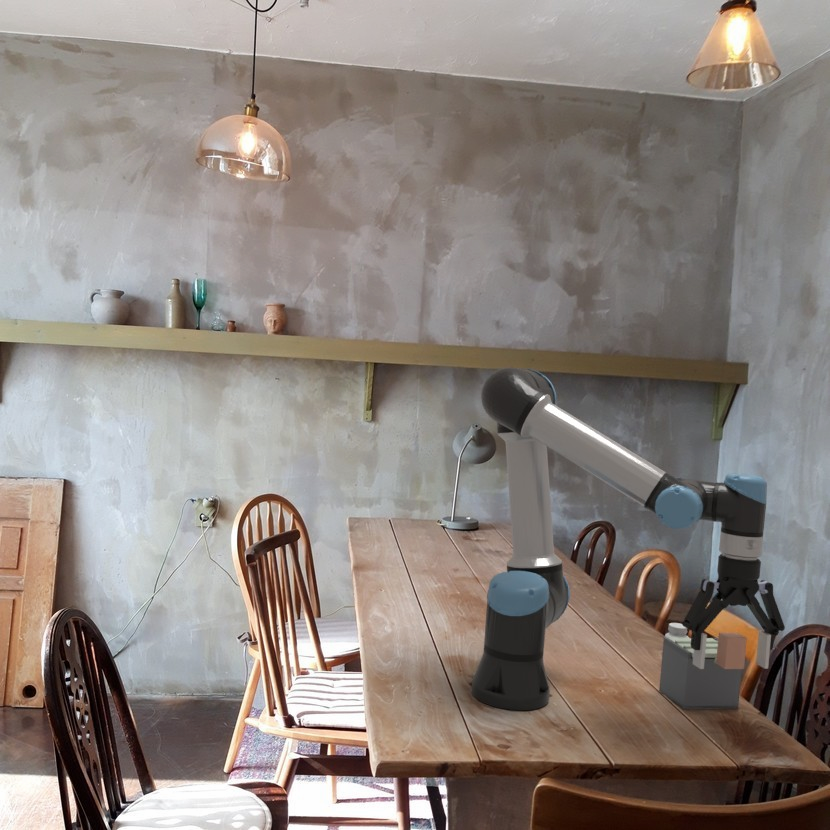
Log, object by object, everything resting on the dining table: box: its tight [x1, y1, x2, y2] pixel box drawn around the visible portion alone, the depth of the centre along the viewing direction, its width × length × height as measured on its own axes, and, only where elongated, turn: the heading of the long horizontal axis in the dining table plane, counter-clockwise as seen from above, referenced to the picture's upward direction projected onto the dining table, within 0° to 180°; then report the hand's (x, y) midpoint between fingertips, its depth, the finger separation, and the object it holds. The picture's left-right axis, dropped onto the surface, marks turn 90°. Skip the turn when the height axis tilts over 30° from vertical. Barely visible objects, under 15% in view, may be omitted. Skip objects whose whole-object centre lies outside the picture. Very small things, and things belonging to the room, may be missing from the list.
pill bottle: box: [664, 622, 690, 638], centre depth 186 cm, size 5×5×10 cm
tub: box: [658, 636, 743, 710], centre depth 167 cm, size 12×10×11 cm
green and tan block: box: [668, 632, 748, 670], centre depth 164 cm, size 10×16×6 cm, turn 12°
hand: (730, 666), depth 158 cm, fingers open, 13 cm apart
